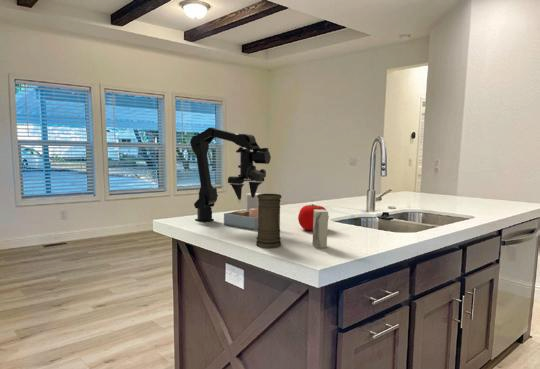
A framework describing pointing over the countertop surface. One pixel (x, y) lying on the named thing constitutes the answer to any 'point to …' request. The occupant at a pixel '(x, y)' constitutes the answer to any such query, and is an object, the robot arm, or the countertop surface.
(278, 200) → the container
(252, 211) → the cylinder
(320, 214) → the box
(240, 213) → the cube
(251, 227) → the box
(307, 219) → the tomato
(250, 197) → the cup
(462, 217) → the countertop surface
